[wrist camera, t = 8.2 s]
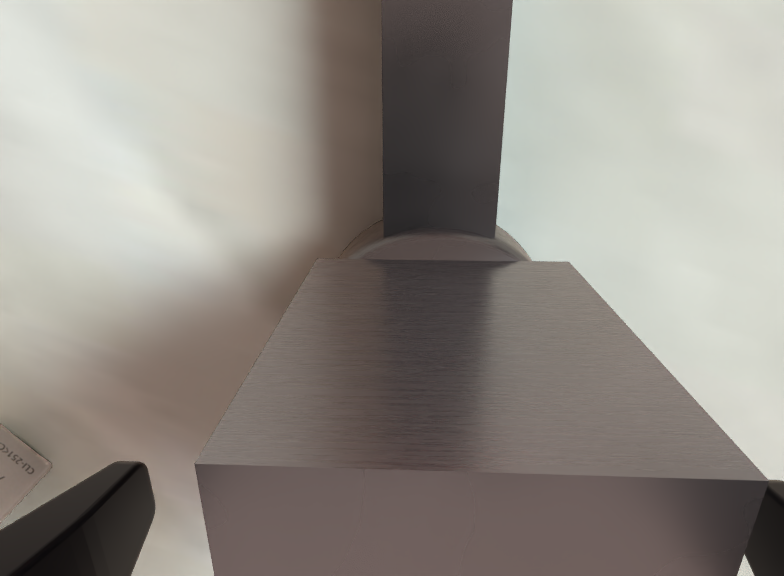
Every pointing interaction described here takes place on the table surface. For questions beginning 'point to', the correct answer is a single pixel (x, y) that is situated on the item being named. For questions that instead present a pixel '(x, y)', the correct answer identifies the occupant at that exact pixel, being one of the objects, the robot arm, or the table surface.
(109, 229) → the table surface
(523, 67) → the table surface
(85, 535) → the robot arm
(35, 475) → the ink cartridge box
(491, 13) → the ratchet
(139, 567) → the table surface
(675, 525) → the grey cubic block
